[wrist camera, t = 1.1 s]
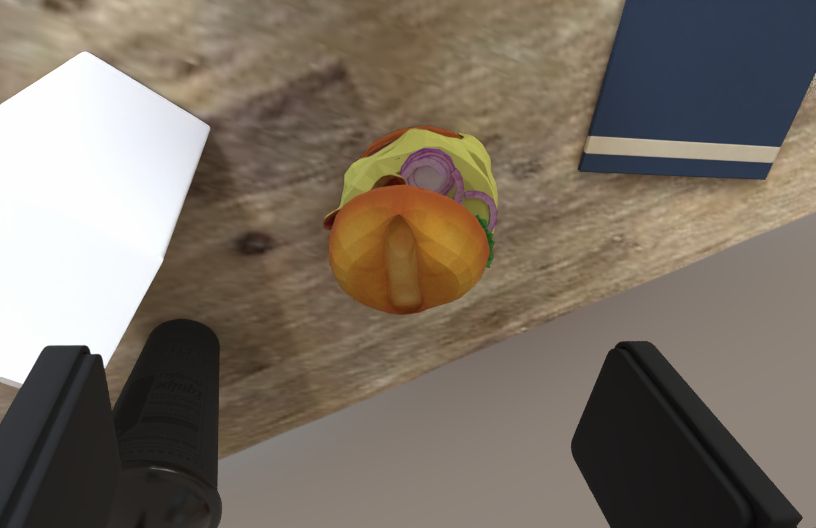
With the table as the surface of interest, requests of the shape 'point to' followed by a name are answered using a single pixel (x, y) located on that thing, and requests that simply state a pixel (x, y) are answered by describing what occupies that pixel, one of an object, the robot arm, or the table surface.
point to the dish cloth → (702, 87)
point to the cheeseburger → (414, 220)
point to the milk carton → (85, 207)
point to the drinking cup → (170, 432)
